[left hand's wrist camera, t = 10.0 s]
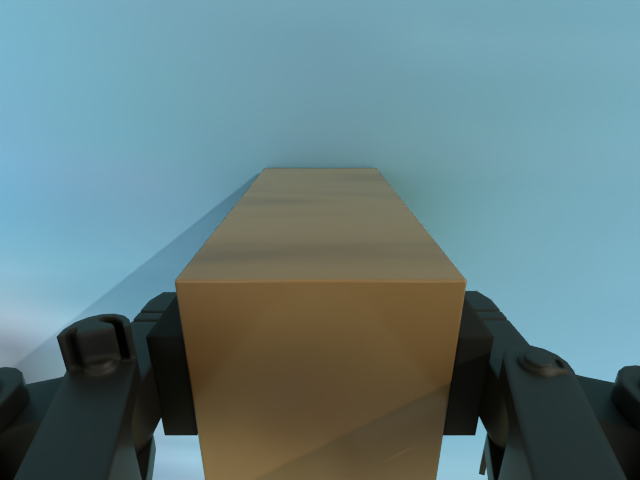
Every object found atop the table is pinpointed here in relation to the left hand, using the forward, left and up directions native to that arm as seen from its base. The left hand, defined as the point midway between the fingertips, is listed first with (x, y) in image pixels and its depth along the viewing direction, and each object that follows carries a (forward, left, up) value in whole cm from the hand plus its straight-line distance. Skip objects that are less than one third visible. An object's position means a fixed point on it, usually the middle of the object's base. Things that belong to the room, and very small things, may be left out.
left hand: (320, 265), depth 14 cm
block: (0, 0, -5) cm, 5 cm away
